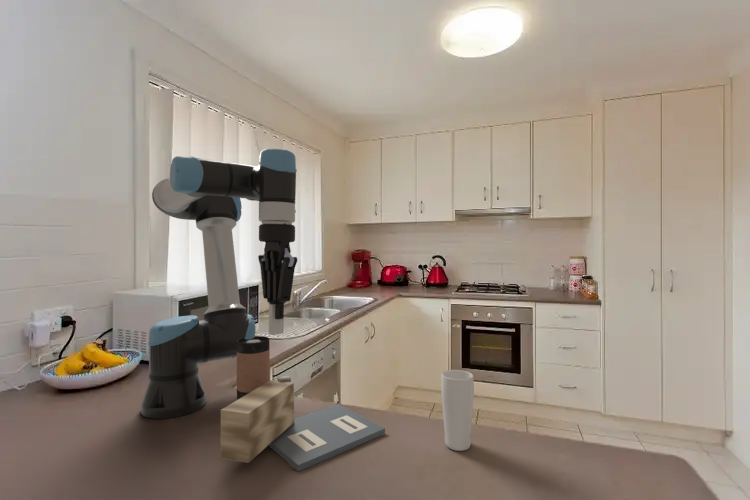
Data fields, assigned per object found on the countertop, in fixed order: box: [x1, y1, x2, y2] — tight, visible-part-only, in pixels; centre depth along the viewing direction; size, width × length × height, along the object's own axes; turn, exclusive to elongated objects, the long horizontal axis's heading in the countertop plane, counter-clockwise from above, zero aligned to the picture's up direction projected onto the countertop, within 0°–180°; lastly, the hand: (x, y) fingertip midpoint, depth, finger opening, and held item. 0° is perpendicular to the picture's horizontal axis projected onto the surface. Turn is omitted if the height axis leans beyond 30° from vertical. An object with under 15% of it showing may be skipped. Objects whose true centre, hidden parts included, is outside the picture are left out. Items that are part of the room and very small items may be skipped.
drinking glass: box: [440, 369, 475, 452], centre depth 79 cm, size 7×7×15 cm
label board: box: [268, 403, 386, 472], centre depth 84 cm, size 19×22×2 cm
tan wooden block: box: [220, 375, 295, 464], centre depth 79 cm, size 20×6×9 cm, turn 163°
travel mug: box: [236, 335, 271, 400], centre depth 90 cm, size 8×8×20 cm
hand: (276, 333), depth 80 cm, fingers closed
